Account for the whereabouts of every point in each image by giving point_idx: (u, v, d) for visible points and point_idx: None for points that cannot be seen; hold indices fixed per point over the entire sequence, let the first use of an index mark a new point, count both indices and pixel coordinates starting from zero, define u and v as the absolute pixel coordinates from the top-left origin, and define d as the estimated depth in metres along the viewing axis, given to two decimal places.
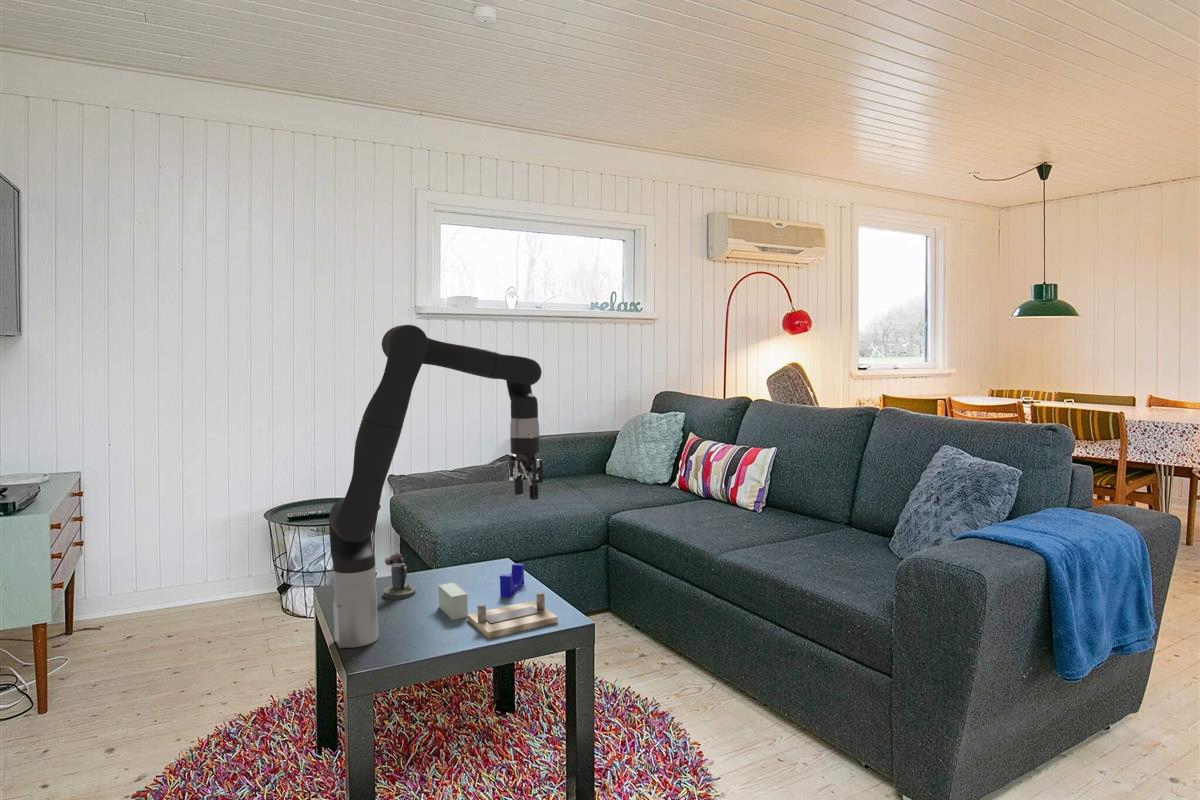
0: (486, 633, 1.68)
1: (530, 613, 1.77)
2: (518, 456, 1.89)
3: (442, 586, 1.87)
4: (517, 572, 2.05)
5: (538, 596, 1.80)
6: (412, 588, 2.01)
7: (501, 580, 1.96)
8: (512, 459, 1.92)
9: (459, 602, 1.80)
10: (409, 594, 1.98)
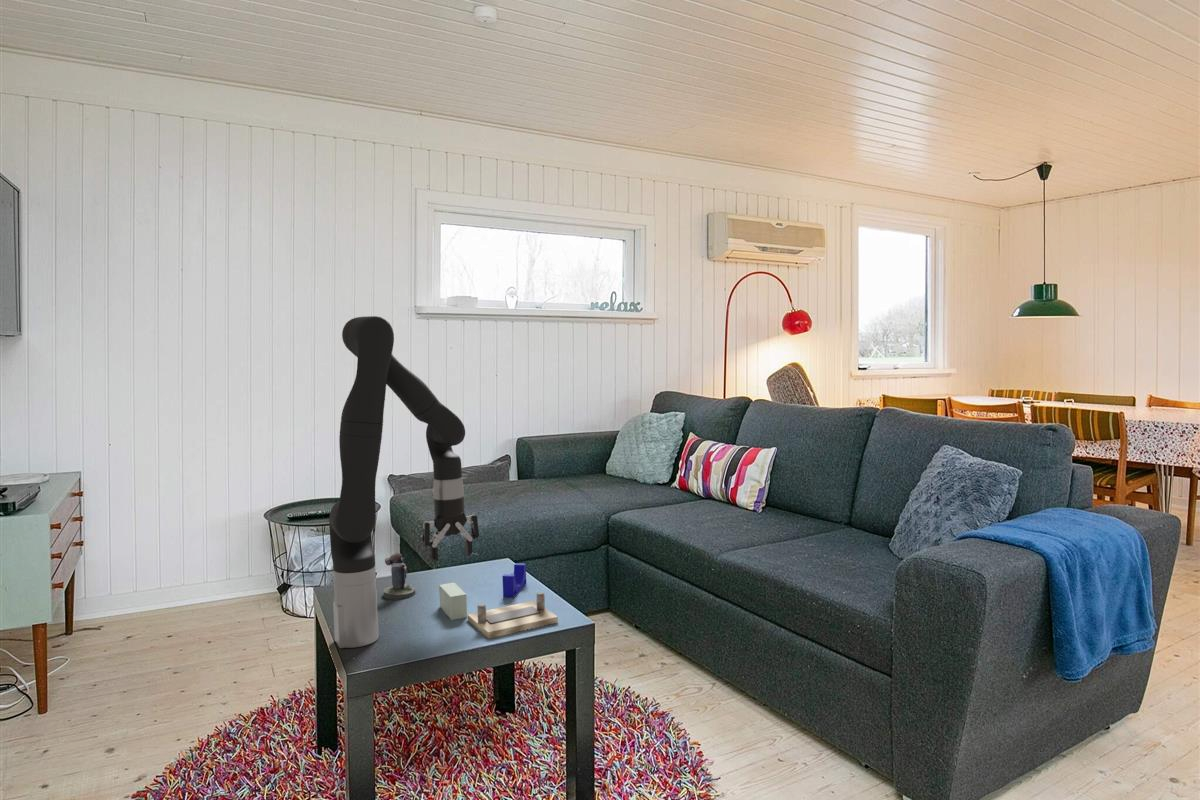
0: (486, 633, 1.68)
1: (530, 613, 1.77)
2: (444, 519, 1.82)
3: (442, 586, 1.88)
4: (519, 572, 2.05)
5: (538, 596, 1.80)
6: (412, 588, 2.01)
7: (504, 580, 1.95)
8: None
9: (458, 602, 1.80)
10: (409, 594, 1.98)
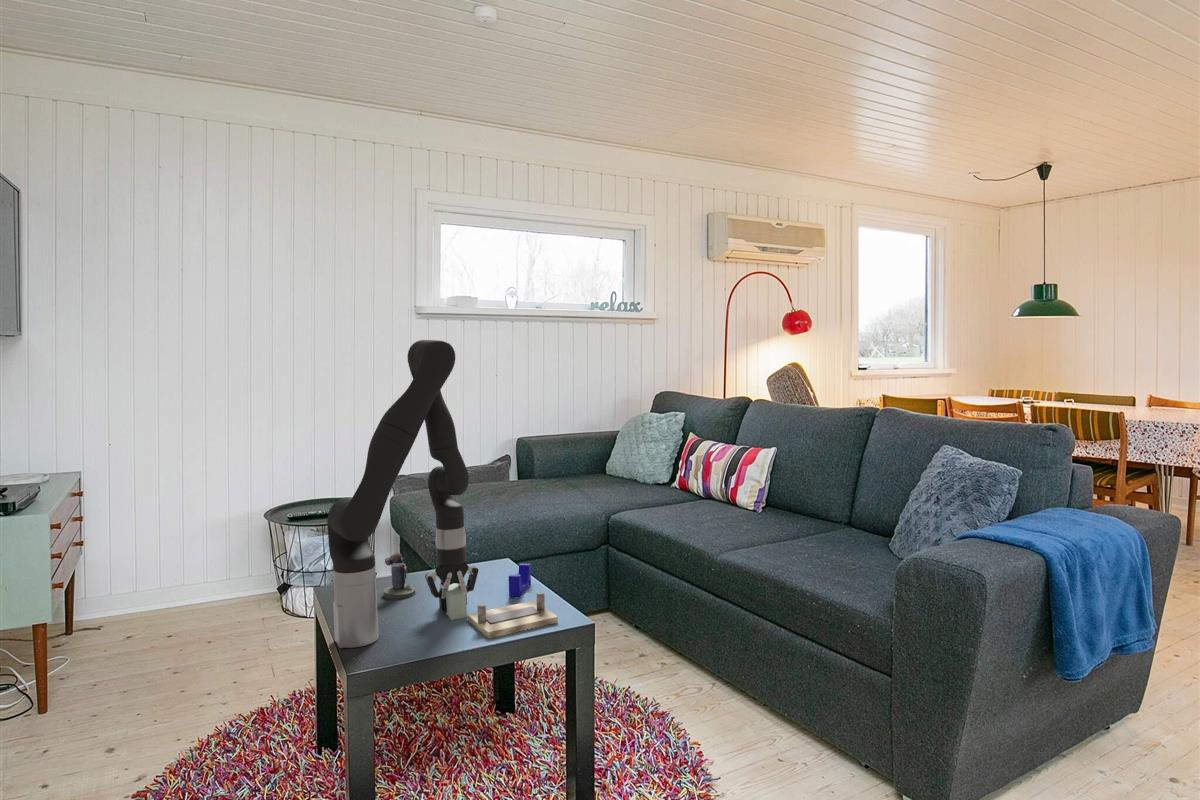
0: (486, 633, 1.68)
1: (530, 613, 1.77)
2: (446, 568, 1.83)
3: None
4: (524, 572, 2.05)
5: (538, 596, 1.80)
6: (412, 588, 2.01)
7: (510, 580, 1.95)
8: (432, 579, 1.81)
9: (458, 602, 1.80)
10: (409, 594, 1.98)
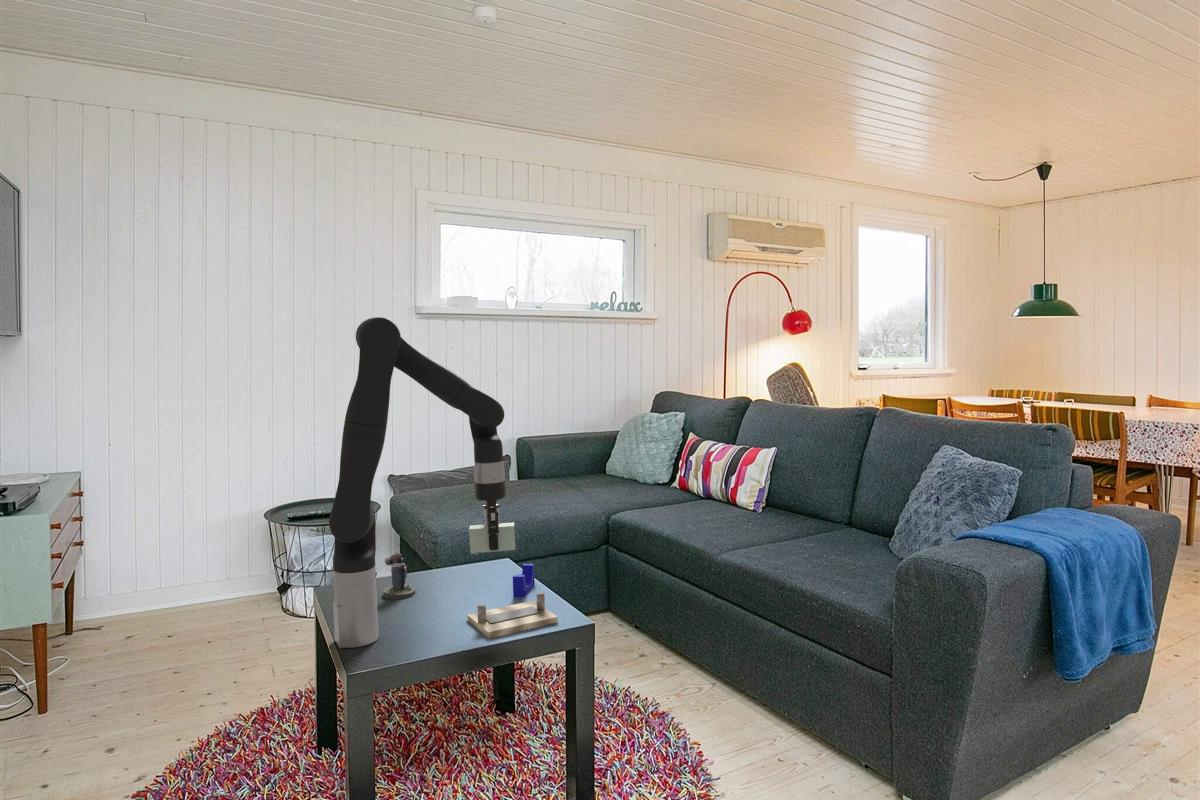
0: (486, 633, 1.68)
1: (530, 613, 1.77)
2: None
3: (476, 528, 1.77)
4: (528, 572, 2.05)
5: (538, 596, 1.80)
6: (412, 588, 2.01)
7: (514, 581, 1.95)
8: None
9: None
10: (409, 594, 1.98)
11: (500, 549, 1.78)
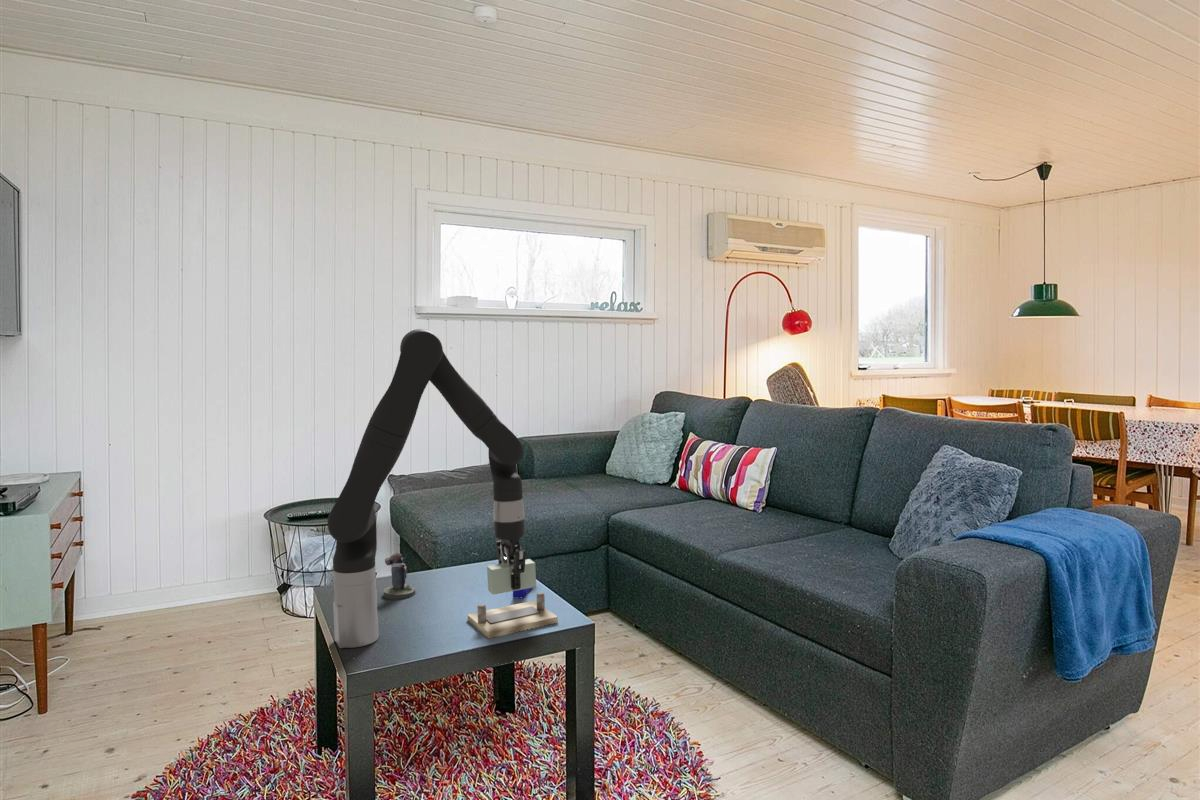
0: (486, 633, 1.68)
1: (530, 613, 1.77)
2: None
3: (497, 568, 1.73)
4: None
5: (538, 596, 1.80)
6: (412, 588, 2.01)
7: None
8: None
9: None
10: (409, 594, 1.98)
11: (522, 587, 1.75)
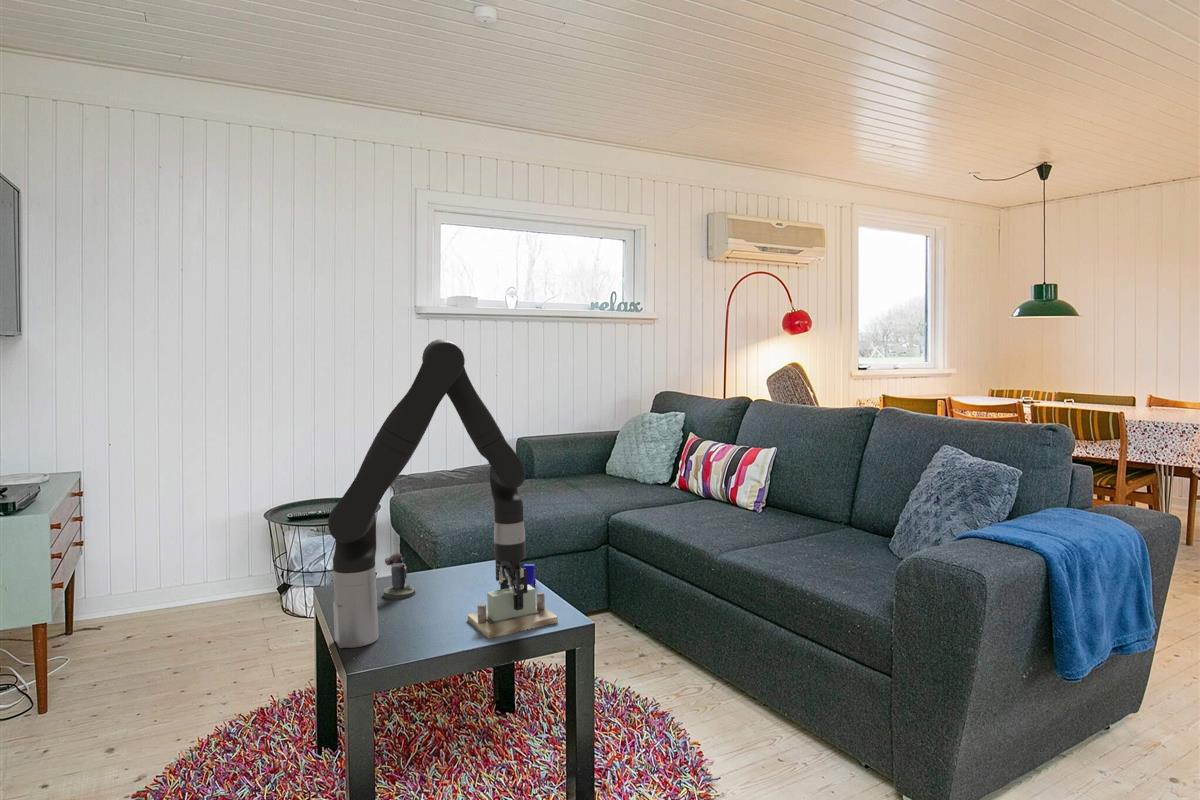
0: (486, 633, 1.68)
1: None
2: None
3: (498, 594, 1.74)
4: (529, 573, 2.04)
5: (538, 596, 1.80)
6: (412, 588, 2.01)
7: (514, 581, 1.94)
8: None
9: None
10: (409, 594, 1.98)
11: (522, 613, 1.76)
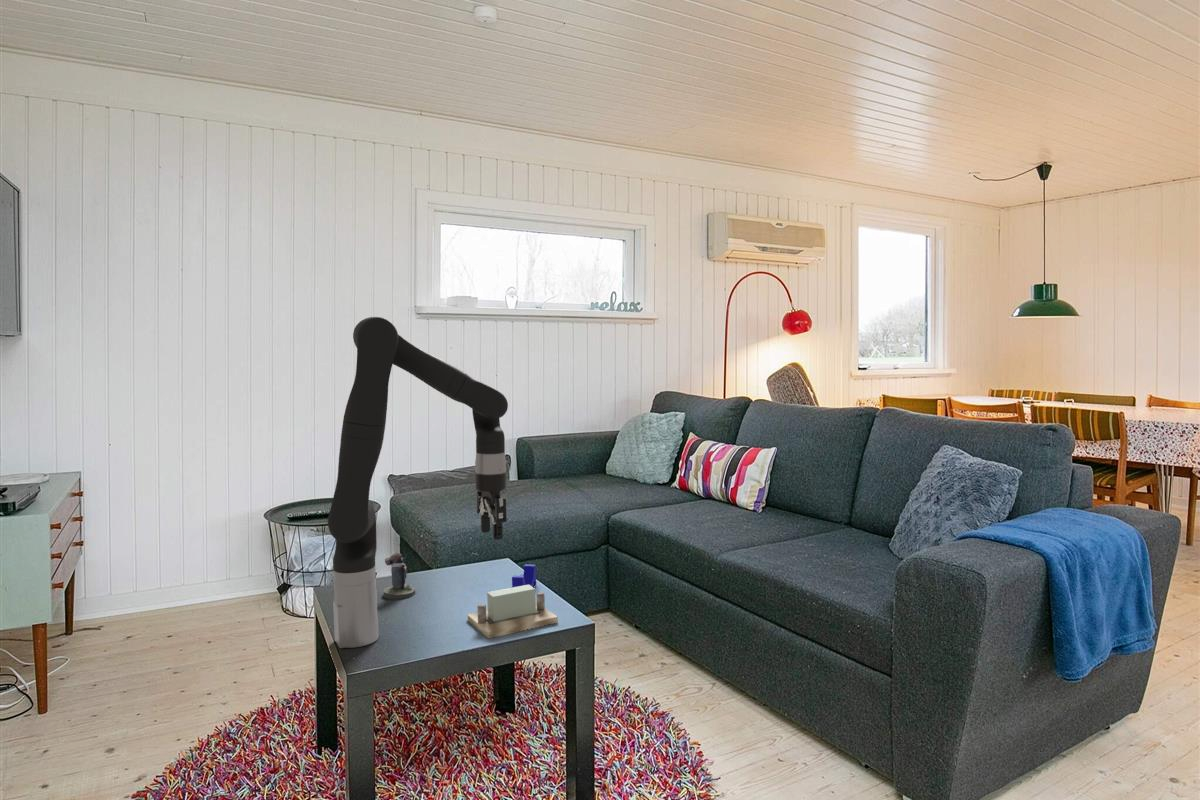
0: (486, 633, 1.68)
1: None
2: None
3: (498, 594, 1.74)
4: (529, 573, 2.04)
5: (538, 596, 1.80)
6: (412, 588, 2.01)
7: (513, 581, 1.94)
8: None
9: None
10: (409, 594, 1.98)
11: (522, 613, 1.76)
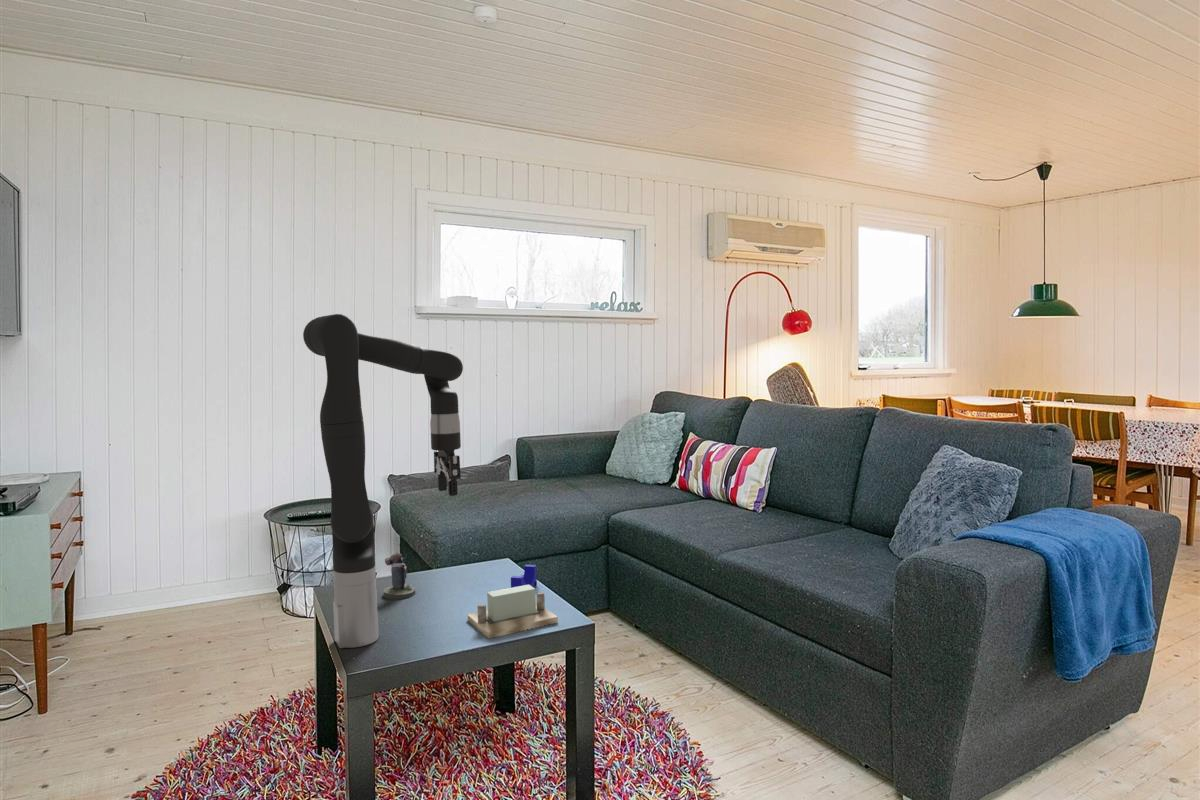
0: (486, 633, 1.68)
1: None
2: None
3: (498, 594, 1.74)
4: (529, 573, 2.03)
5: (538, 596, 1.80)
6: (412, 588, 2.01)
7: (512, 581, 1.94)
8: None
9: None
10: (409, 594, 1.98)
11: (522, 613, 1.76)
